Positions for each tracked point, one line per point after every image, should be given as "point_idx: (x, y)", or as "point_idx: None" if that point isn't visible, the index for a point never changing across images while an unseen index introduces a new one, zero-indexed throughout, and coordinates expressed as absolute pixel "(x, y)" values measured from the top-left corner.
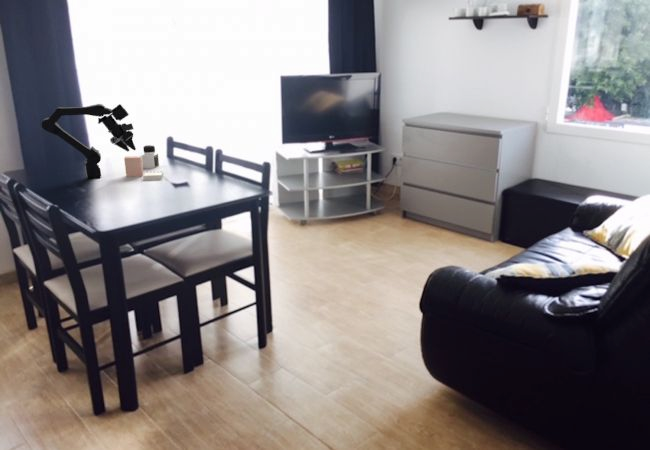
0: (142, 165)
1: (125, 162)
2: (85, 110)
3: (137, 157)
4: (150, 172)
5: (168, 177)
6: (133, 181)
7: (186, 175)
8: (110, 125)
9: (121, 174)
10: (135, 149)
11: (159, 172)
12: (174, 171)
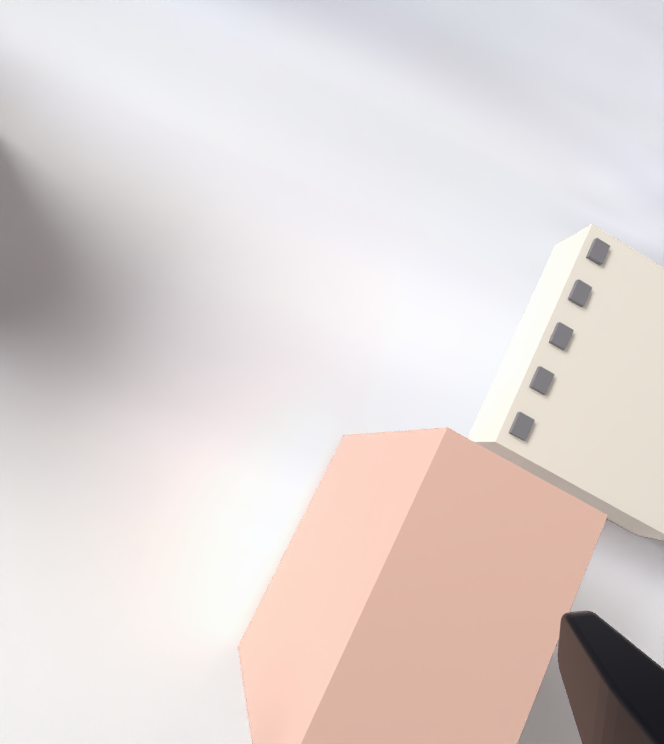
0: (381, 432)
1: None
2: None
3: (572, 571)
4: (549, 388)
5: (637, 225)
6: None
7: (650, 24)
8: None
9: (88, 716)
10: (588, 626)
11: (613, 285)
12: (376, 22)
